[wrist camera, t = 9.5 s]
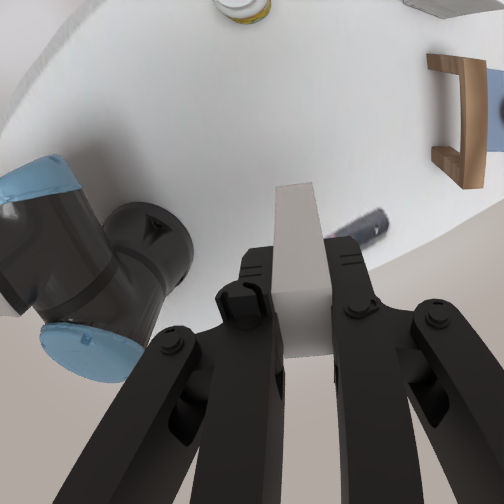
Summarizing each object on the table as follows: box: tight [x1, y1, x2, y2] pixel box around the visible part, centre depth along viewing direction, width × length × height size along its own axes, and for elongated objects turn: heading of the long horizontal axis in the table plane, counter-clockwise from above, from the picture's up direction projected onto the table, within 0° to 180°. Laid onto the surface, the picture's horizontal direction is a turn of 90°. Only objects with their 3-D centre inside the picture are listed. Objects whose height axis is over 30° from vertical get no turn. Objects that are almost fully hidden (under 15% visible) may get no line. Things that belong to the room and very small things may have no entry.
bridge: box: [426, 54, 488, 189], centre depth 29 cm, size 3×14×9 cm, turn 11°
